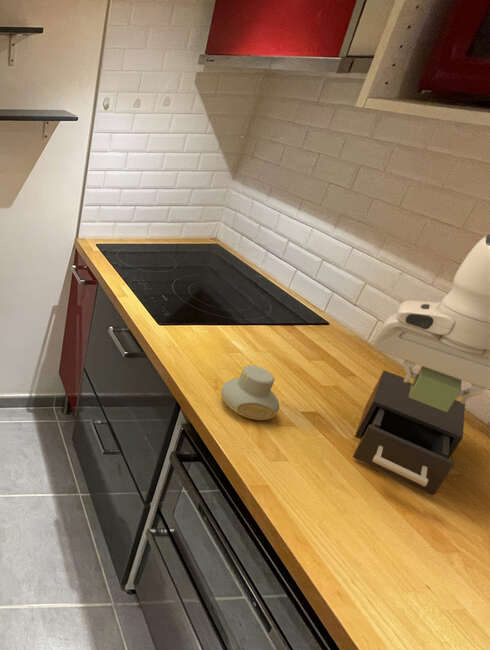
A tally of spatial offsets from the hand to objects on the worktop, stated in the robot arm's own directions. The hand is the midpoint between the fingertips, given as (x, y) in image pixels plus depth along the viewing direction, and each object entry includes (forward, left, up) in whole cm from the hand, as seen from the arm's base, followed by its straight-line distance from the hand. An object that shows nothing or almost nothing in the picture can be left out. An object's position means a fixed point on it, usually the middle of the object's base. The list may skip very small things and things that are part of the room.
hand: (432, 391), depth 80 cm
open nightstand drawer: (0, +1, -17) cm, 17 cm away
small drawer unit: (-5, -9, -18) cm, 21 cm away
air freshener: (+24, -6, -18) cm, 31 cm away
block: (0, 0, -2) cm, 2 cm away
